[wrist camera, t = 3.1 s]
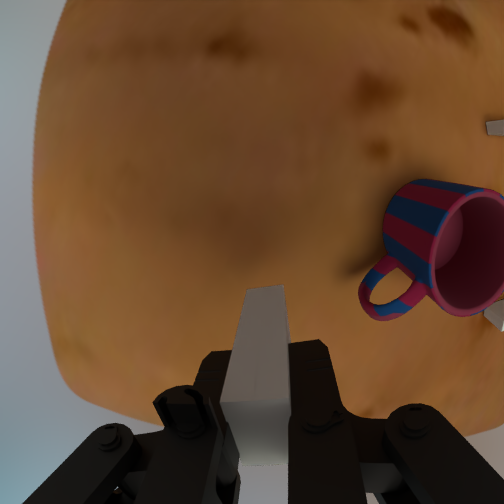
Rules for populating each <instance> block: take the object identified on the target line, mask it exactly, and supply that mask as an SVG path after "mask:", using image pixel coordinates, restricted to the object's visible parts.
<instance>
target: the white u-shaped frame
mask: <svg viewBox="0 0 504 504" xmlns="http://www.w3.org/2000/svg"><path fill="white" fill-rule="evenodd" d="M486 126H487V133H488V135H498V136H504V120H497V121H489V122H486ZM484 316H485V317H486V318H487V319H488V320H489V321H490V322H491V323H493V324H494V325H495V326H496V327H497V328H498V329H499V330H500V331H501V332H502V331H504V299H503V300H500V301H497V302H494V303H493V304H492V305H490V306H489V307H488V308H486V309H485V310H484Z"/></svg>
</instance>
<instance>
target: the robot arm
mask: <svg viewBox="0 0 504 504" xmlns="http://www.w3.org/2000/svg"><path fill="white" fill-rule="evenodd" d="M198 372H199V373H197V376H196V379H195V382H194V384H193V386H192V385H182V386H176V387H173V388H170V389H167V390H165V391H164V392H163V393H161V394H160V395H158V396H157V397H156V399H155V400H154V401H153V405H154V407H155V409H156V411H157V413H158V415H159V417H160V419H161V421H162V422H163V424H164V426H165V427H164V429H163V430H161V431H157V432H152V433H146V434H138V435H134V434H133V433H132V431H131V429H130V428H128V427H127V426H125V425H124V424H118V423H112V424H106V425H103V426H101V427H99V428H97V429H96V430H95V431H93V432H92V433H91V434H90V435H89V436H88V437H87V438H86V439H85V440H84V441H83V442H82V443H81V445H80V446H79V447H78V448H77V449H76V450H75V451H74V452H73V453H72V454H71V455H70V456H69V457H68V458H67V459H66V460H65V461H64V462H63V463H62V464H61V465H60V466H59V467H58V468H57V469H56V470H55V471H54V472H53V473H52V474H51V475H50V476H49V477H48V478H47V479H46V480H45V481H44V482H43V483H42V484H41V485H40V487H38V488H37V489H36V490H35V491H34V492H33V493H32V494H31V495H30V496H29V497H28V498H27V499H26V500H25V501H24V502H23V504H238V499H239V491H240V484H241V481H240V475H239V473H238V462H239V458H240V460H241V463H242V466H261V465H279V464H288V504H367V499H366V493H373V494H374V495H375V497H376V499H377V501H378V502H379V504H504V479H503V478H502V477H501V476H500V475H499V474H498V473H497V472H496V471H495V470H494V469H493V468H492V467H491V466H490V465H489V463H488V462H487V461H486V460H485V459H484V458H483V457H482V456H481V455H480V454H479V453H478V452H477V451H476V450H475V449H474V448H473V446H472V445H470V443H468V441H467V440H466V439H465V438H464V437H463V436H462V435H461V434H460V433H459V432H458V431H457V430H456V429H455V428H454V427H453V426H452V425H451V423H450V422H449V421H448V420H447V419H446V418H445V417H444V416H443V415H442V414H441V413H440V412H439V411H437V410H436V409H434V408H433V407H432V406H429V405H425V404H421V403H419V404H408V405H404V406H401V407H399V408H398V409H396V410H395V411H393V412H392V413H391V414H390V416H389V417H388V418H387V419H370V418H362V417H359V416H356V415H354V414H352V413H350V412H349V411H347V409H346V408H345V407H344V406H343V404H342V402H341V398H340V394H339V390H338V386H337V382H336V378H335V374H334V370H333V366H332V362H331V359H330V354H329V351H328V347H327V346H326V345H325V344H324V343H322V342H321V341H320V340H319V339H317V340H310V341H303V342H295V343H291V339H290V331H289V323H288V316H287V308H286V301H285V294H284V286H283V285H276V286H269V287H261V288H253V289H247V291H246V295H245V299H244V303H243V308H242V312H241V316H240V320H239V324H238V328H237V333H236V337H235V341H234V345H233V349H232V350H226V351H211V352H210V353H209V354H208V355H207V356H206V357H205V358H204V359H203V360H202V363H201V365H200V368H199V371H198ZM117 486H118V487H119V488H117ZM116 488H117V489H116ZM115 489H116V490H115Z"/></svg>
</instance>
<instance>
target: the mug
mask: <svg viewBox="0 0 504 504" xmlns="http://www.w3.org/2000/svg"><path fill="white" fill-rule="evenodd" d="M383 239H384V244H385V248H386V250H387V253H388V254H387V255H385V256H384V257H383V258H382V259H381V260H380V261H379V262H378V263H377V264H376V265H375V266H374V267H373V268H372V269H371V270H370V271H369V272H368V273H367V274H366V276H365V277H364V279H363V280H362V282H361V284H360V286H359V290H358V296H359V300H360V303H361V306H362V308H363V309H364V311H365V312H366V313H367V314H368V315H369V316H370V317H371V318H373V319H375V320H379V321H389V320H392V319H395V318H398V317H399V316H401V315H403V314H405V313H406V312H408V311H409V310H410V309H412V308H413V307H414V306H415V305H416V304H417V303H418V302H420V301H421V300H422V299H423V298H424V297H425V295H428V296H429V297H430V298H431V299H432V300H433V301H435V302H436V303H437V304H438V305H439V306H440V307H441V308H442V309H443V310H444V311H446V312H447V313H449V314H451V315H454V316H459V317H465V316H471V315H475V314H478V313H479V312H481V311H483V310H485V309H486V308H488V307H489V306H490V305H492V304H493V303H494V302H495V301H496V300H497V299H498V298H499V296H500V295H501V294H502V293H503V291H504V197H503V196H502V195H501V194H500V193H498V192H496V191H494V190H490V189H485V188H480V187H474V186H469V185H463V184H457V183H450V182H444V181H437V180H430V179H420V180H416V181H413V182H410V183H409V184H407V185H405V186H404V187H403V188H401V189H400V190H399V191H398V192H397V193H396V194H395V196H394V197H393V198H392V200H391V202H390V203H389V205H388V208H387V210H386V213H385V217H384V222H383ZM396 267H398V268H399V269H401V270H402V271H403V272H404V273H405V274H406V275H407V276H408V277H409V278H410V279H412V280H413V282H412V284H411V286H410V287H409V288H408V290H407V291H406V292H405V293H404V294H402V295H401V296H400V297H398V298H397V299H395V300H393V301H391V302H389V303H387V304H383V305H376V304H373V303H371V302H369V299H370V294H371V292H372V290H373V288H374V287H375V286H376V284H377V283H378V282H379V281H380V280H381V279H382V278H383V277H384V276H385V275H386V274H388V273H389V272H390V271H392V270H393V269H395V268H396Z"/></svg>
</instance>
